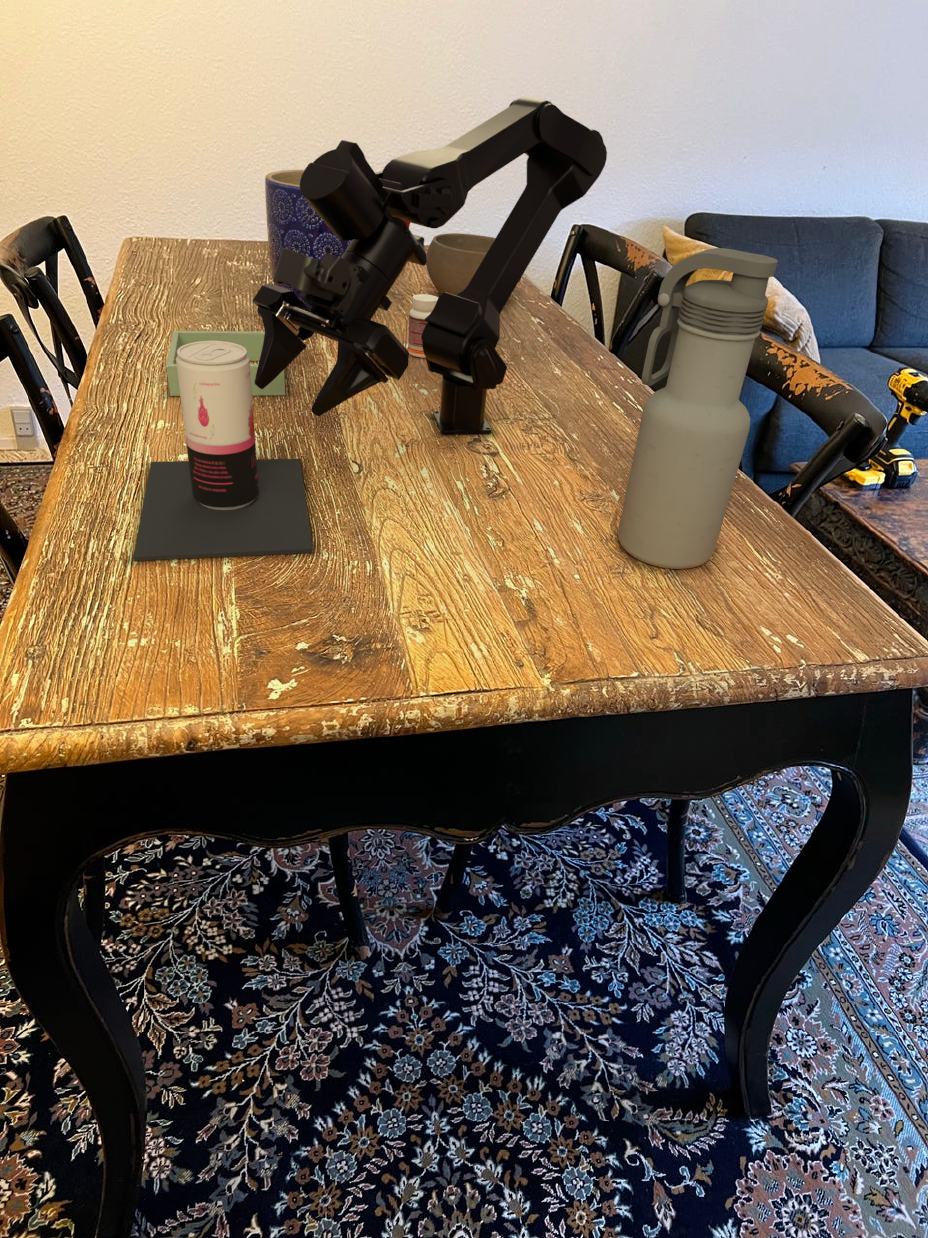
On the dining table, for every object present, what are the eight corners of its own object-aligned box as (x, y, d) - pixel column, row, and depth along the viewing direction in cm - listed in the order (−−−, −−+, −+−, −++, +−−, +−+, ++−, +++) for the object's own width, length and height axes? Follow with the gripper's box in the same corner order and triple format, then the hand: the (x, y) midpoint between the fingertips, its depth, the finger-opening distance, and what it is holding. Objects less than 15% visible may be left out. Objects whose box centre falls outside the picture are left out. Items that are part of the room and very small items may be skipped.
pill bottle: (434, 360, 127) (437, 303, 122) (404, 355, 128) (406, 299, 123) (441, 350, 131) (444, 295, 126) (412, 346, 132) (414, 291, 127)
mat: (312, 552, 79) (312, 548, 79) (133, 561, 76) (133, 556, 76) (300, 462, 95) (300, 458, 95) (151, 465, 92) (150, 461, 91)
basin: (285, 395, 111) (283, 365, 109) (170, 396, 108) (166, 365, 106) (280, 358, 123) (279, 331, 120) (176, 358, 120) (172, 330, 117)
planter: (251, 317, 138) (241, 177, 126) (303, 292, 153) (299, 165, 141) (353, 335, 134) (352, 193, 122) (397, 308, 148) (400, 178, 137)
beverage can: (272, 492, 87) (263, 349, 79) (232, 518, 82) (217, 367, 74) (221, 477, 89) (206, 335, 81) (179, 501, 84) (159, 352, 76)
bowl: (526, 293, 164) (532, 238, 158) (505, 316, 149) (511, 257, 144) (441, 281, 167) (444, 226, 161) (413, 302, 152) (415, 243, 147)
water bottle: (596, 548, 84) (653, 250, 68) (636, 513, 91) (696, 235, 75) (691, 584, 80) (777, 275, 64) (726, 544, 87) (810, 256, 70)
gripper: (261, 198, 83) (177, 329, 83) (390, 234, 74) (295, 383, 73) (325, 271, 93) (249, 389, 92) (446, 312, 83) (363, 444, 83)
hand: (285, 399), depth 85 cm, fingers open, 9 cm apart
